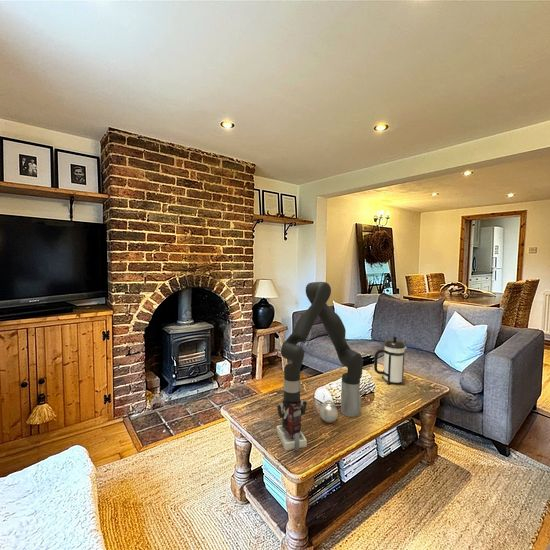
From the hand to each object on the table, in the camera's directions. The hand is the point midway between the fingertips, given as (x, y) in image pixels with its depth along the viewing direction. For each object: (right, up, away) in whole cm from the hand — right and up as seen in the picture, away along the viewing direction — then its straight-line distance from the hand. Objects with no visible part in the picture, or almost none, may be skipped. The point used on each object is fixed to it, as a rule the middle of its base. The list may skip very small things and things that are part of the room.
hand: (291, 424), depth 135 cm
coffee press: (+68, -3, +61) cm, 92 cm away
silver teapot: (+20, -6, +15) cm, 26 cm away
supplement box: (0, -5, +1) cm, 5 cm away
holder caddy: (0, -7, +1) cm, 7 cm away
